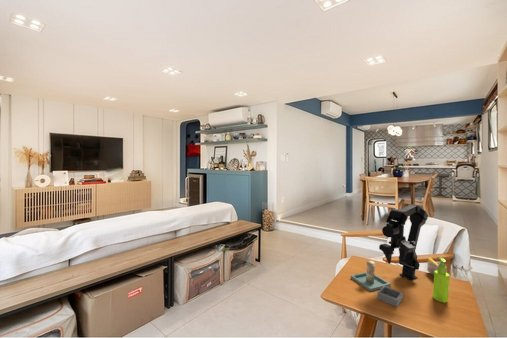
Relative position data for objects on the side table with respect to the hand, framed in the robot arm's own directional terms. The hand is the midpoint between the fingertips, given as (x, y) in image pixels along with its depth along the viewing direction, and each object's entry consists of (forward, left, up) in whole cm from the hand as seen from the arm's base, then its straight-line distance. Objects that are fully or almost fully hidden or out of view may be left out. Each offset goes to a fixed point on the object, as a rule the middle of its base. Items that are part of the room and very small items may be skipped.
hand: (395, 262), depth 128 cm
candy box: (-30, +2, -13) cm, 33 cm away
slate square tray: (+14, +9, -13) cm, 21 cm away
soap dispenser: (-11, +16, -13) cm, 23 cm away
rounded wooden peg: (+11, -6, -12) cm, 17 cm away
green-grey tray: (+11, -6, -13) cm, 18 cm away
